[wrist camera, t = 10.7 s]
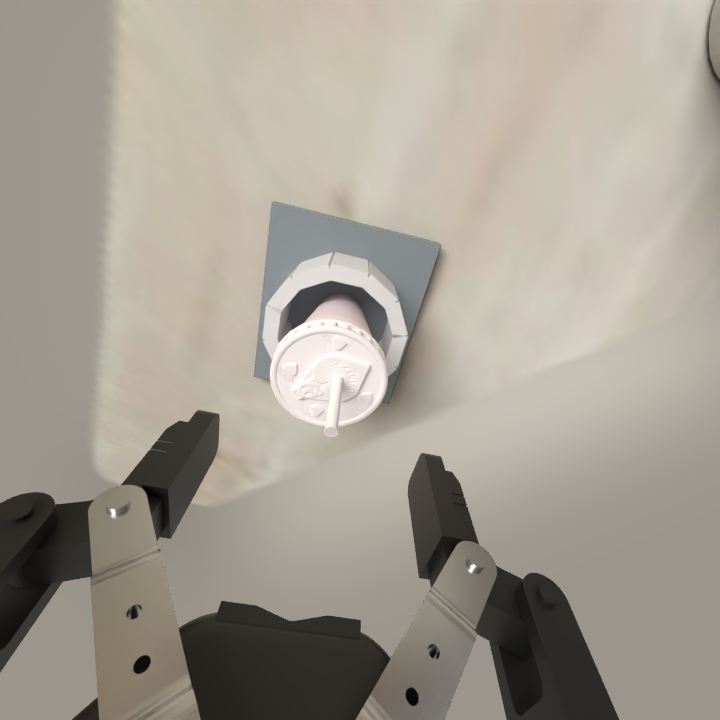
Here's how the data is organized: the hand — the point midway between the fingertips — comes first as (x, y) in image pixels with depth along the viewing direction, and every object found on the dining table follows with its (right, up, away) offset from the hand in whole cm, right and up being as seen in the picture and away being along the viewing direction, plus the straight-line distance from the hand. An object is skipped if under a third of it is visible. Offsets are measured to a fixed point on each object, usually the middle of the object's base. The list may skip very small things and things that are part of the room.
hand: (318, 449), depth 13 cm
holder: (0, +7, +14) cm, 16 cm away
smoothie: (0, +7, +13) cm, 15 cm away
